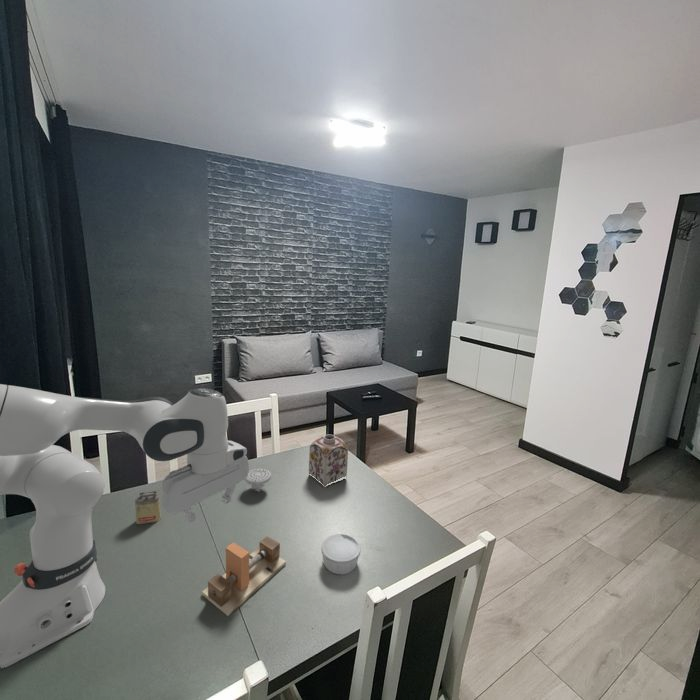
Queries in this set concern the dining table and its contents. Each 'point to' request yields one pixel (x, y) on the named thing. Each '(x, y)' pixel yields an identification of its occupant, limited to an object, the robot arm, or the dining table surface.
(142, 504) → the lighter
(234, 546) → the collar
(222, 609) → the rod stand
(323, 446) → the decorative jar
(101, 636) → the dining table surface
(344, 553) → the ramekin
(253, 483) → the showerhead
